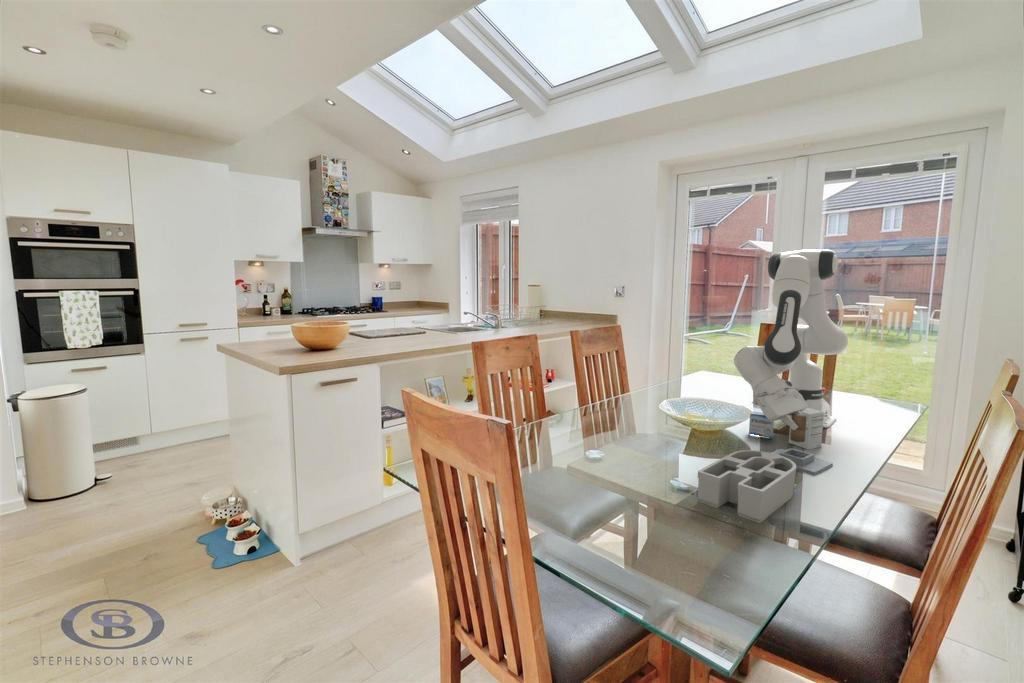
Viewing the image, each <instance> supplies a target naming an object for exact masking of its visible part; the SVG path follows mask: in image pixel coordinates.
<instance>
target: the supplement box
mask: <svg viewBox="0 0 1024 683" xmlns="http://www.w3.org/2000/svg"><path fill="white" fill-rule="evenodd" d="M802 414H803V415H806V416H807V420H806V422H807V425H806V433H805V442H795V441H792V440H790V435H791V427H790V426H789V433H788V434H789V436H788V444H791V445H794V446H797V447H799V448H802V449H805V450H812V449H816V448H820V447H822V441H823V440H822V439H823V432H824V431H823V430H824V427H823V420H824V412H822V411H819V410H815V409H811V408H806V409H805V410H803V411H802ZM791 419H792V415H791Z"/></svg>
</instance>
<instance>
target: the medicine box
mask: <svg viewBox="0 0 1024 683" xmlns="http://www.w3.org/2000/svg"><path fill="white" fill-rule="evenodd" d="M774 423H775V421H773V422H771V421H770V420H768V419H767V417H766V416H765V415H764V413H763V412H762V411H761V412H759V411H750V412H749V423H748V424H749V425H748V435H749V434H754V435H759V436H764V437H769V438H773V437H774V426H775V425H774Z"/></svg>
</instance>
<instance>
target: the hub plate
mask: <svg viewBox="0 0 1024 683" xmlns="http://www.w3.org/2000/svg"><path fill="white" fill-rule="evenodd" d="M770 453H774V454H777V455H781V456H783V457H786V458H788V459H790V460H791V461H793V462H794V463H795V464H796V471H799V472H801V473H805V474H808V475H811V476H814V477H815V476H816V475H818V474H821V473H822V472H824V471H826V470H828V469H830V468H832V467H833V462H830V461H827V460H824V459H821V458H820V459H819V458H815V453H811V452H807V451H803V450H800V449H796V448H791V447H789V448H787V449H784V448H778V449H776V450H774V451H771V452H770Z"/></svg>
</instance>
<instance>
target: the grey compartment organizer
mask: <svg viewBox="0 0 1024 683" xmlns="http://www.w3.org/2000/svg"><path fill="white" fill-rule="evenodd" d="M796 475H797V470H796V464H795V463H794V462H793V461H791V460H790V459H788V458H786V457H783V456H781V455H777V454H774V453H771V452H768V451H764V450H763V451H762V450H753V449H751V450H750V449H749V450H747V449H745V450H744V449H742V450H737V451H733V452H731V453H729V454H727V455H725V456H724V457H722V458H719V459H718V460H716V461H714V462H712V463H710V464H708V465H707V466H704V467H702V468H701V469H699V470H698V471H697V479H698V484H697V500H698V502H699V503H701V504H705V505H707V506H710V507H712V508H716V509H718V508H720V507H721V506H722V507H723V505H724V504H727V503H728V502H730V503H732V504H735V505H737V516H738V517H740V518H744V519H746V520H749V521H751V522H754V523H757V524H761V523H762V522H764V521H765V520H766V519H767V518H769V517H770V516H771V515H772V514H774V513H775V512H776V511H778V510H779V509H780V508H781V507H782V506H783V505H785V504H786V503H787V502H789V501H790V500H791V499H792V498H793V495H794V492H795V480H796Z"/></svg>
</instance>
